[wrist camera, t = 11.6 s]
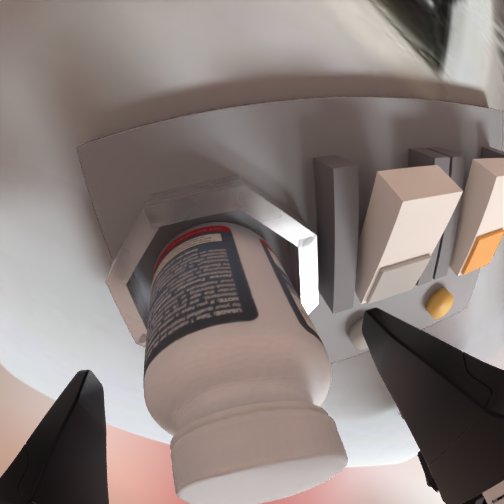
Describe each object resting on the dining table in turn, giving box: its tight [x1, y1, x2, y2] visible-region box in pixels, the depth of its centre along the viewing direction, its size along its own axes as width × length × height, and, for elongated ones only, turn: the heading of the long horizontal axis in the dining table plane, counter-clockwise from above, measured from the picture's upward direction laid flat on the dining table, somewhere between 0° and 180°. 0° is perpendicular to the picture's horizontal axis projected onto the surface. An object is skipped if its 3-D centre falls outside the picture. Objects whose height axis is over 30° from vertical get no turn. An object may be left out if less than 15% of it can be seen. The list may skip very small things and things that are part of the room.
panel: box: [77, 97, 504, 364], centre depth 14 cm, size 15×22×3 cm
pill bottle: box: [144, 222, 348, 504], centre depth 9 cm, size 5×5×9 cm
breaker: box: [355, 165, 463, 304], centre depth 11 cm, size 6×3×2 cm, turn 9°
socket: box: [106, 175, 318, 347], centre depth 12 cm, size 8×8×2 cm
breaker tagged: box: [449, 158, 504, 276], centre depth 12 cm, size 6×3×2 cm, turn 8°
